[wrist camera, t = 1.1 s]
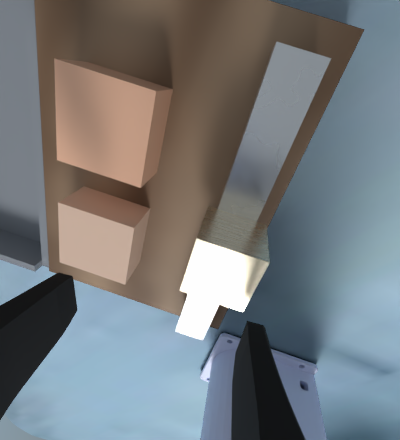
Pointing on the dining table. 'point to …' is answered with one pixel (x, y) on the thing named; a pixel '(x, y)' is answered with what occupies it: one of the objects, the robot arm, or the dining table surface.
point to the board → (179, 112)
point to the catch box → (21, 140)
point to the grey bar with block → (249, 192)
